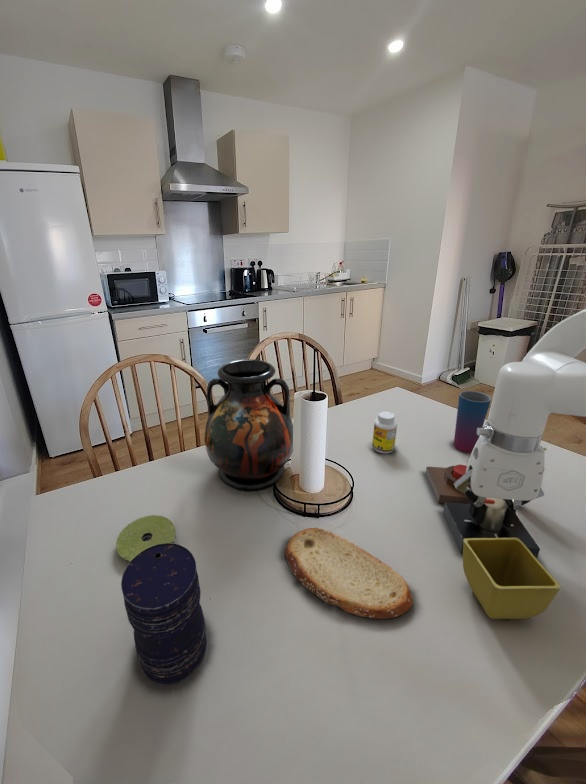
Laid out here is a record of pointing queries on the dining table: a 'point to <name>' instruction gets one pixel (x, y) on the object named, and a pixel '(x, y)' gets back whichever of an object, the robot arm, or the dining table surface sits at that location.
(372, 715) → the dining table surface
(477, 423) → the cup
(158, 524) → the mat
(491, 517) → the dial
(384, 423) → the supplement bottle
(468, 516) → the control panel
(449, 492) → the button block
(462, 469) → the button
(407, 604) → the bread slice
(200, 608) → the navy ridged drum
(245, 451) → the amphora vase
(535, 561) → the flower pot
